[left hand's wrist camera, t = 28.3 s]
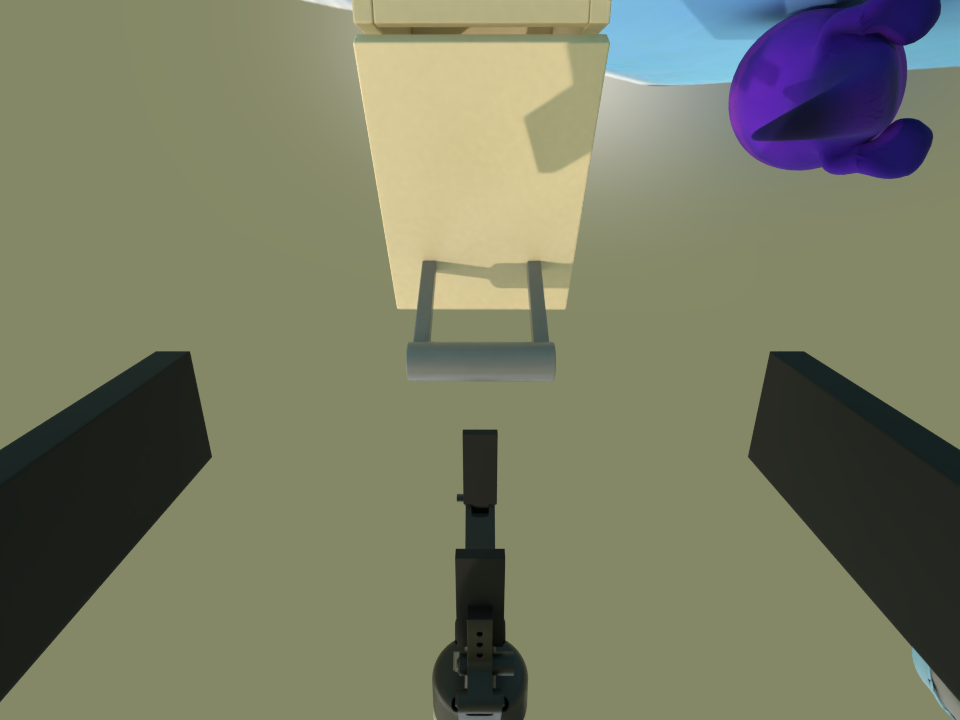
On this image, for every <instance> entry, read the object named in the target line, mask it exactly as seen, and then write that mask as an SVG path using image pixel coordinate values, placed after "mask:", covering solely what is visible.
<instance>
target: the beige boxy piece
mask: <svg viewBox="0 0 960 720" xmlns="http://www.w3.org/2000/svg"><path fill="white" fill-rule="evenodd" d="M609 45H610V42H609V39H608V37H607V35H606V34H369V35H356V37H355V40H354V42H353V46H354V52H355V58H356V64H357V70H358V76H359V82H360V88H361V94H362V100H363V106H364V112H365V118H366V124H367V130H368V136H369V142H370V148H371V154H372V160H373V166H374V172H375V177H376V184H377V190H378V196H379V202H380V208H381V214H382V220H383V226H384V232H385V238H386V244H387V250H388V256H389V262H390V268H391V274H392V280H393V286H394V292H395V298H396V304H397V308H398V309H417V312H416V321H415V330H414V339H413V342H408V345H407V351H406V372H407V378H408V380H409V381H554V378H555V371H556V351H555V345H554V343H553V342H549V337H548V327H547V317H546V309H566V305H567V299H568V293H569V287H570V281H571V275H572V269H573V263H574V256H575V250H576V244H577V238H578V232H579V226H580V220H581V214H582V208H583V202H584V196H585V190H586V184H587V178H588V172H589V166H590V160H591V154H592V148H593V142H594V136H595V130H596V124H597V118H598V112H599V106H600V100H601V93H602V87H603V81H604V75H605V69H606V63H607V57H608V51H609ZM433 309H529V310H530V324H531V337H532V342H430V340H431V329H432V317H433Z"/></svg>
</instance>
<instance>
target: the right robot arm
mask: <svg viewBox="0 0 960 720" xmlns="http://www.w3.org/2000/svg"><path fill="white" fill-rule="evenodd" d="M497 439H498V433H497V430H463V492H464V494H457V502H464V504H465V506H466V543H465V549H456V555H455V569H456V616H457V618H456V622H455V641H453V642H452V643H450V644H449V645H448V646H447V647H446V648H445V649H444V650H443V651H442V652H441V653H440V655H439V657H438V658H437V660H436V663H435V666H434V669H433V675H432V684H433V705H434V710H433V720H525V718H526V708H527V690H528V673H527V668H526V665H525V662H524V660H523V658H522V656H521V655H520V653H519V652H518V651H517V649H516V648H515V647H514V646H513V645H511V644H510V643H509V642H507V641H506V640H505V620H504V587H505V549H495V504H497ZM912 657H913V662H914V665H915V668H916V670H917V672H918V674H919V676H920V677H921V679H922V680H923V682H924V683H925V684H926V685H927V686H928V688H929V689H930V690H931V691H932V693H933V694H934V695H935V697H936V699H937V701H938V702H939V704H940V705H941V707H942V708H943V709H944V710H945V711H946V712H947V713H948V714H949V715H950V717H952V718H953V719H954V720H960V702H959V700H958V699H957V698H956V697H955V696H954V695H953V694H952V692H951V691H950V690H949V689H948V688H947V687H946V685H945V684H944V683H943V682H942V681H941V680H940V678H939V677H938V676H937V675H936V674H935V673H934V672H933V670H932V669H931V668H930V667H929V666H928V665H927V663H926V662H925V661H924V660H923V659H922V658H921V656H920V655H919V654H918V653H917V652H916V651H915V650H914V648H913V647H912Z"/></svg>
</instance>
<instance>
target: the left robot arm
mask: <svg viewBox="0 0 960 720" xmlns="http://www.w3.org/2000/svg"><path fill="white" fill-rule="evenodd" d="M211 457H212V455H211V450H210V445H209V441H208V436H207V431H206V426H205V421H204V417H203V412H202V407H201V402H200V397H199V393H198V388H197V383H196V378H195V374H194V369H193V364H192V359H191V355H190V352H189V351H186V352H185V351H183V352H182V351H180V352H179V351H174V352H173V351H159V352H158V351H156V352H154V353H153V354H151V355H150V356H148V357H146V358H145V359H143V360H142V361H140V362H139V363H137V364H135V365H134V366H132V367H131V368H129V369H128V370H126V371H124V372H123V373H121V374H120V375H118V376H116V377H115V378H113V379H112V380H110V381H109V382H107V383H105V384H104V385H102V386H101V387H99V388H98V389H96V390H94V391H93V392H91V393H90V394H88V395H86V396H85V397H83V398H82V399H80V400H78V401H77V402H75V403H74V404H72V405H71V406H69V407H67V408H66V409H64V410H63V411H61V412H60V413H58V414H56V415H55V416H53V417H52V418H50V419H48V420H47V421H45V422H44V423H42V424H41V425H39V426H37V427H36V428H34V429H33V430H31V431H29V432H28V433H26V434H25V435H23V436H22V437H20V438H18V439H17V440H15V441H14V442H12V443H10V444H9V445H7V446H6V447H4V448H2V449H1V450H0V702H1V700H2V699H3V698H4V697H5V696H6V695H7V693H8V692H9V691H10V690H11V689H12V688H13V687H14V685H15V684H16V683H17V682H18V681H19V680H20V678H21V677H22V676H23V675H24V674H25V673H26V672H27V670H28V669H29V668H30V667H31V666H32V665H33V663H34V662H35V661H36V660H37V659H38V658H39V656H40V655H41V654H42V653H43V652H44V651H45V650H46V648H47V647H48V646H49V645H50V644H51V643H52V641H53V640H54V639H55V638H56V637H57V636H58V634H59V633H60V632H61V631H62V630H63V629H64V628H65V626H66V625H67V624H68V623H69V622H70V621H71V619H72V618H73V617H74V616H75V615H76V614H77V612H78V611H79V610H80V609H81V608H82V607H83V606H84V604H85V603H86V602H87V601H88V600H89V599H90V597H91V596H92V595H93V594H94V593H95V592H96V591H97V589H98V588H99V587H100V586H101V585H102V584H103V582H104V581H105V580H106V579H107V578H108V577H109V575H110V574H111V573H112V572H113V571H114V570H115V569H116V567H117V566H118V565H119V564H120V563H121V562H122V560H123V559H124V558H125V557H126V556H127V555H128V553H129V552H130V551H131V550H132V549H133V548H134V547H135V545H136V544H137V543H138V542H139V541H140V540H141V538H142V537H143V536H144V535H145V534H146V533H147V531H148V530H149V529H150V528H151V527H152V526H153V524H154V523H155V522H156V521H157V520H158V519H159V518H160V516H161V515H162V514H163V513H164V512H165V511H166V510H167V508H168V507H169V506H170V505H171V504H172V502H173V501H174V500H175V499H176V498H177V497H178V496H179V494H180V493H181V492H182V491H183V490H184V489H185V487H186V486H187V485H188V484H189V483H190V482H191V481H192V479H193V478H194V477H195V476H196V475H197V474H198V472H199V471H200V470H201V469H202V468H203V467H204V465H205V464H206V463H207V462H208V461H209V460H210V459H211ZM748 457H749V459H750V460H751V461H752V462H753V463H754V464H755V465H756V467H757V468H758V469H759V470H760V471H761V472H762V474H763V475H764V476H765V477H766V478H767V479H768V481H769V482H770V483H771V484H772V485H773V486H774V487H775V489H776V490H777V491H778V492H779V493H780V494H781V496H782V497H783V498H784V499H785V500H786V501H787V503H788V504H789V505H790V506H791V507H792V508H793V510H794V511H795V512H796V513H797V514H798V515H799V516H800V518H801V519H802V520H803V521H804V522H805V523H806V525H807V526H808V527H809V528H810V529H811V530H812V531H813V533H814V534H815V535H816V536H817V537H818V538H819V540H820V541H821V542H822V543H823V544H824V545H825V547H826V548H827V549H828V550H829V551H830V552H831V553H832V555H833V556H834V557H835V558H836V559H837V560H838V562H839V563H840V564H841V565H842V566H843V567H844V569H845V570H846V571H847V572H848V573H849V574H850V575H851V577H852V578H853V579H854V580H855V581H856V582H857V584H858V585H859V586H860V587H861V588H862V589H863V590H864V592H865V593H866V594H867V595H868V596H869V597H870V599H871V600H872V601H873V602H874V603H875V604H876V605H877V607H878V608H879V609H880V610H881V611H882V612H883V614H884V615H885V616H886V617H887V618H888V619H889V621H890V622H891V623H892V624H893V625H894V626H895V628H896V629H897V630H898V631H899V632H900V633H901V634H902V636H903V637H904V638H905V639H906V640H907V641H908V643H909V644H910V645H911V646H912V647H913V648H914V650H915V651H916V652H917V653H918V654H919V655H920V656H921V658H922V659H923V660H924V661H925V662H926V663H927V665H928V666H929V667H930V668H931V669H932V670H933V672H934V673H935V674H936V675H937V676H938V677H939V678H940V680H941V681H942V682H943V683H944V684H945V685H946V687H947V688H948V689H949V690H950V691H951V692H952V694H953V695H954V696H955V697H956V698H957V699H958V700H959V702H960V450H959V449H958V448H956V447H954V446H953V445H951V444H950V443H948V442H946V441H945V440H943V439H942V438H940V437H938V436H937V435H935V434H934V433H932V432H931V431H929V430H927V429H926V428H924V427H923V426H921V425H920V424H918V423H916V422H915V421H913V420H912V419H910V418H908V417H907V416H905V415H904V414H902V413H901V412H899V411H897V410H896V409H894V408H893V407H891V406H889V405H888V404H886V403H885V402H883V401H882V400H880V399H878V398H877V397H875V396H874V395H872V394H870V393H869V392H867V391H866V390H864V389H863V388H861V387H859V386H858V385H856V384H855V383H853V382H851V381H850V380H848V379H847V378H845V377H844V376H842V375H840V374H839V373H837V372H836V371H834V370H833V369H831V368H829V367H828V366H826V365H825V364H823V363H821V362H820V361H818V360H817V359H815V358H814V357H812V356H810V355H809V354H807V353H806V352H801V351H789V352H788V351H787V352H786V351H777V352H775V351H772V352H770V355H769V359H768V364H767V369H766V374H765V379H764V383H763V388H762V393H761V398H760V402H759V407H758V412H757V417H756V421H755V426H754V431H753V436H752V440H751V445H750V450H749V455H748Z"/></svg>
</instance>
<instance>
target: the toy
mask: <svg viewBox="0 0 960 720" xmlns="http://www.w3.org/2000/svg"><path fill="white" fill-rule="evenodd" d="M940 11H941V3H940V0H868V1H867V2H865V3H863V4H860V5H856V6H852V7H849V8H822V9H814V10H808V11H804V12H801V13H798V14H795V15H793V16H791V17H789V18H787V19H785V20H783V21H781V22H780V23H778V24H776V25H775V26H773V27H772V28H771V29H769V30H768V31H767V32H765V33H764V34H763V35H762V36H761V37H760V38H759V39H758V40H757V41H756V42H755V43H754V44H753V45H752V46H751V47H750V49H749V50H748V51H747V52H746V54H745V55H744V57H743V58H742V60H741V62H740V63H739V65H738V68H737V70H736V72H735V74H734V77H733V80H732V84H731V88H730V94H729V116H730V121H731V125H732V128H733V131H734V133H735V135H736V137H737V139H738V141H739V142H740V144H741V145H742V146H743V147H744V149H745V150H746V151H747V152H748V153H749V154H750V155H752V156H753V157H754V158H756V159H757V160H759V161H761V162H763V163H765V164H767V165H769V166H773V167H776V168H780V169H786V170H810V169H815V168H820V167H823V169H824V170H825V171H827V172H829V173H831V174H835V175H845V174H852V173H861V174H865V175H869V176H873V177H877V178H884V179H893V178H900V177H904V176H908V175H910V174H912V173H913V172H914V171H916V170H917V169H918V168H919V166H920V165H921V164H922V163H923V161H924V159H925V157H926V155H927V153H928V151H929V149H930V147H931V144H932V139H933V134H932V131H931V129H930V128H929V127H927V126H926V125H925V124H924V123H922V122H921V121H919V120H916V119H912V118H904V119H899V120H896V121H895V122H893V123H892V124H891V122H892V121H893V119H894V117H895V116H896V114H897V112H898V109H899V107H900V105H901V102H902V99H903V96H904V92H905V87H906V80H907V61H906V54H905V51H904V47H903V45H908V44H911V43H914V42H916V41H918V40H919V39H921V38H922V37H924V36H925V35H926V34H927V33H928V32H929V31H930V29H931V28H932V27H933V26H934V25H935V23H936V21H937V20H938V18H939V16H940ZM890 124H891V125H890Z"/></svg>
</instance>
